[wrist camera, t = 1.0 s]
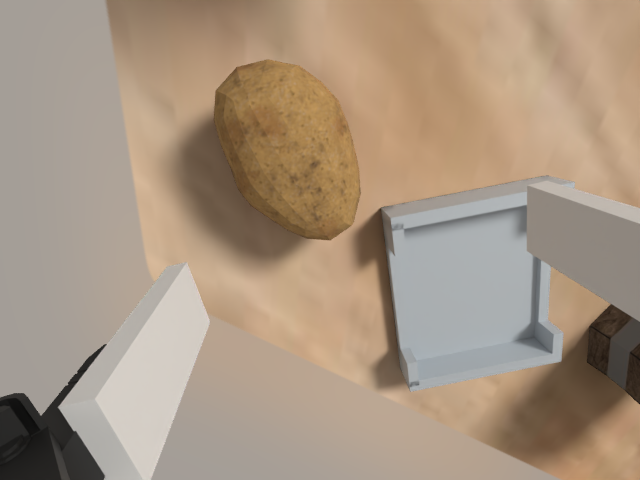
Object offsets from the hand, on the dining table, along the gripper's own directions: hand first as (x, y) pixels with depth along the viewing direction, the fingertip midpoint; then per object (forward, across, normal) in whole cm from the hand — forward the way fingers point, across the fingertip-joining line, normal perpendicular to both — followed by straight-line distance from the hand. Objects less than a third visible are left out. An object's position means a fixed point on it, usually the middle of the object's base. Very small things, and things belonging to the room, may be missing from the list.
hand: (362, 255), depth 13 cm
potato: (+20, -2, +2) cm, 20 cm away
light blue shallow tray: (+19, +12, -14) cm, 27 cm away
